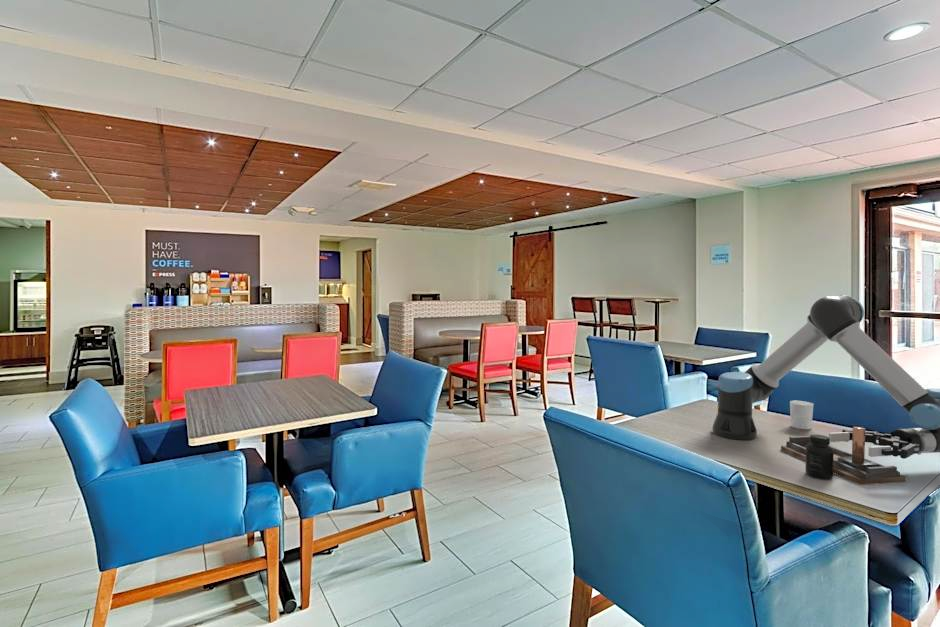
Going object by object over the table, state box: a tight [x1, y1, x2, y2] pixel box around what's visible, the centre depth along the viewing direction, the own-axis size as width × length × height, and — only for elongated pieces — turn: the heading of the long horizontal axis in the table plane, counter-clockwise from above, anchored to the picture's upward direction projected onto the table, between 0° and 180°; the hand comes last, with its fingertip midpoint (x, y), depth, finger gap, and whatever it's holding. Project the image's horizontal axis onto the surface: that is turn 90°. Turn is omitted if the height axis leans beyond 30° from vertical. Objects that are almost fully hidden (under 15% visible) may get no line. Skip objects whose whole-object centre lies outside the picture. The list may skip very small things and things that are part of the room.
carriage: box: [838, 426, 880, 472], centre depth 147 cm, size 7×7×12 cm
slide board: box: [780, 435, 907, 485], centre depth 154 cm, size 30×15×4 cm, turn 6°
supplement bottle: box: [804, 434, 834, 480], centre depth 145 cm, size 7×7×12 cm
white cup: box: [789, 400, 815, 430], centre depth 195 cm, size 8×8×10 cm
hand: (848, 444), depth 147 cm, fingers open, 13 cm apart
